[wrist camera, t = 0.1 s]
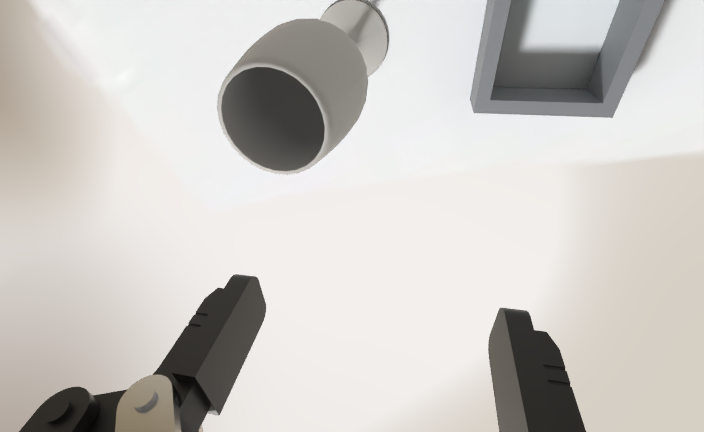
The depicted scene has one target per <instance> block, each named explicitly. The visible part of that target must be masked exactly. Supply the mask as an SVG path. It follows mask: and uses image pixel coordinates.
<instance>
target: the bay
mask: <svg viewBox="0 0 704 432" xmlns="http://www.w3.org/2000/svg"><path fill="white" fill-rule="evenodd" d="M664 1H665V0H620V2H619V4H618V7H617V10H616V12H615V15H614V17H613V20H612V23H611V25H610V28H609V31H608V33H607V36H606V39H605V41H604V44H603V47H602V49H601V52H600V55H599V57H598V60H597V63H596V65H595V68H594V70H593V73H592V76H591V78H590V81H589V84H588V86H587V89H553V88H507V87H493V84H494V79H495V75H496V70H497V65H498V61H499V56H500V51H501V47H502V42H503V37H504V32H505V28H506V23H507V18H508V14H509V9H510V4H511V0H487V6H486V12H485V17H484V23H483V29H482V34H481V40H480V46H479V51H478V57H477V63H476V68H475V74H474V80H473V85H472V91H471V96H470V100H471V104H472V108H473V112H474V113H493V114H522V115H551V116H581V117H610V118H613V115H614V113H615V111H616V109H617V106H618V104H619V102H620V100H621V97H622V95H623V93H624V91H625V88H626V86H627V84H628V82H629V79H630V77H631V75H632V73H633V70H634V68H635V66H636V64H637V61H638V59H639V57H640V55H641V52H642V50H643V48H644V46H645V43H646V41H647V39H648V37H649V34H650V32H651V30H652V28H653V25H654V23H655V21H656V19H657V16H658V14H659V12H660V10H661V8H662V5H663V3H664Z"/></svg>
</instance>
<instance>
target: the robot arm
mask: <svg viewBox="0 0 704 432" xmlns="http://www.w3.org/2000/svg"><path fill="white" fill-rule="evenodd" d="M265 312H266V304H265V300H264V297H263V294H262V290H261V287H260V284H259V280H258V278H257V277H253V276H245V275H233V276H232V277H231V279H230V280H229V282H228V283H227V285H226V286H225V288H224V289H222V288H217V289H216V290H215V291H214V292H212V293H211V294H210V295H209V296H208V297H206V298H205V299H204V301H203V302H202V304H201V305H200V307H199V308H198V310H197V311H196V314H195V315H194V316H193V317H192V319H191V320H190V322H189V325H188V326H186V328H185V329H184V331H183V332H182V334H181V335H180V337H179V338H178V340H177V341H176V343H175V344H174V346H173V347H172V349H171V350H170V352H169V353H168V355H167V356H166V358H165V359H164V360H163V362H162V364H161V365H160V367H159V368H158V369H157V370H156V372H155V373H154V374H153V375H150V376H147V377H145V378H143V379H140V380H139V381H137V382H136V383H135V384H133V385H132V386H131V387H130V388H129V389H127V390H123V391H117V392H111V393H106V394H100V395H94V396H92V395H91V394H90V393H89V392H88V391H87V390H86V389H84V388H81V387H71V388H68V389H65V390H63V391H60V392H58V393H56V394H55V395H53V396H52V397H50V398H49V399H48V400H47V401H45V402H44V403H43V404H42V405H41V406H40V407H39V408H38V409H37V411H36V412H35V413H34V414H33V416H32V417H31V418H30V419H29V420H28V422H27V423H26V424H25V425H24V426H23V428H22V429H21V430H20V431H19V432H203V429H202V425H201V424H202V422H203V420H204V418H205V416H206V414H207V413H209V414H214V415H220V413H221V411H222V408H223V406H224V404H225V402H226V400H227V398H228V396H229V394H230V391H231V389H232V387H233V385H234V383H235V380H236V378H237V376H238V374H239V372H240V370H241V368H242V365H243V363H244V361H245V359H246V357H247V355H248V353H249V351H250V349H251V346H252V344H253V342H254V340H255V338H256V336H257V333H258V331H259V329H260V327H261V325H262V323H263V321H264V317H265ZM489 359H490V367H491V374H492V381H493V389H494V396H495V403H496V410H497V417H498V425H499V432H586V431H585V428H584V424H583V421H582V418H581V415H580V412H579V409H578V406H577V403H576V399H575V397H574V393H573V390H572V387H570V381H569V378H568V375H567V372H566V371H565V365H564V362H563V359H562V356H561V353H560V350H559V348H558V347H557V345H556V344H555V343H554V341H553V340H552V339H551V337H550V336H549V335H548V333H547V332H543V331H535V330H534V329H533V325H532V321H531V317H530V315H529V313H528V312H527V311H523V310H515V309H507V308H500V309H499V311H498V314H497V317H496V320H495V322H494V326H493V328H492V331H491V334H490V337H489Z"/></svg>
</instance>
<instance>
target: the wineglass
mask: <svg viewBox="0 0 704 432" xmlns="http://www.w3.org/2000/svg"><path fill="white" fill-rule="evenodd" d="M387 44H388V41H387V32H386V28H385V25H384V22H383V21H382V19H381V17H380V15H379V14H378V13H377V12H376V11H375V10H374V9H373V8H372V7H371V6H369V5H368V4H366V3H364V2H361V1H358V0H344V1H340V2H337V3H335V4H334V5H332V6H331V7H329V8H328V9H327V11H326V12H325V13H324V14H323V15H322V17H321V19H320V20H319V19H296V20H293V21H289V22H286V23H283V24H281V25H278V26H276V27H275V28H274V29H272V30H271V31H269V32H268V33H266V34H265V35H264V36H262V37H261V38H260V39H259V40H258V41H257V42H256V43H254V44H253V45H252V46H251V47H250V48H249V49H248V50H247V51H246V53H245V54H244V55H243V56H242V57H241V59H240V60H239V61H238V62H237V64H236V65H235V66H234V68H233V69H232V70H231V71H230V73H229V74H228V75H227V77H226V78H225V80H224V82H223V84H222V86H221V89H220V92H219V94H218V105H217V109H218V116H219V121H220V124H221V127H222V129H223V132H224V134H225V136H226V137H227V139H228V141H229V142H230V144H231V145H232V147H233V148H234V149H235V150H236V151H237V152H238V153H239V154H240V155H241V156H242V157H243V158H244V159H246V160H247V161H248V162H250V163H251V164H252V165H254V166H256V167H258V168H260V169H262V170H265V171H268V172H271V173H275V174H286V175H288V174H294V173H300V172H302V171H304V170H306V169H309V168H310V167H312V166H313V165H315V164H316V163H317V162H318V161H320V160H321V159H322V158H323V157H325V156H326V155H327V154H328V153H329V152H330V151H332V150H333V149H334V148H335V147H336V146H337V145H338V144H339V143H340V142H341V140H342V139H343V138H344V137H345V136H346V135H347V134H348V132H349V131H350V130H351V128H352V127H353V125H354V124H355V123H356V121H357V120H358V118H359V116H360V114H361V111H362V109H363V106H364V104H365V101H366V94H367V86H368V76H370V75H372V74H373V73H374V72H375V71H376V70H377V69H378V68H379V66H380V65H381V63H382V62H383V60H384V57H385V54H386V50H387Z"/></svg>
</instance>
